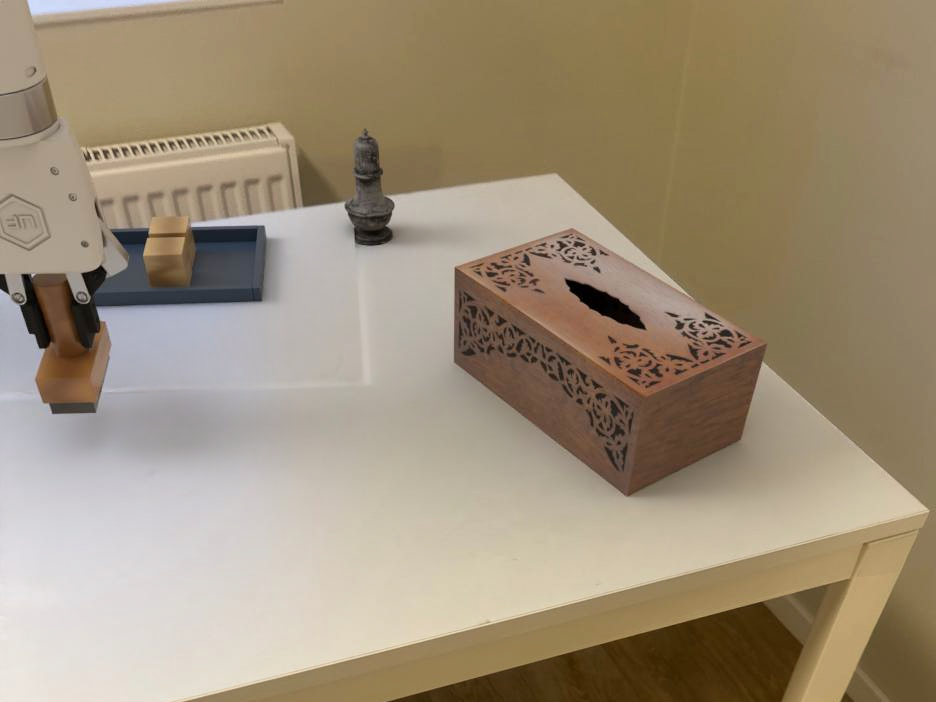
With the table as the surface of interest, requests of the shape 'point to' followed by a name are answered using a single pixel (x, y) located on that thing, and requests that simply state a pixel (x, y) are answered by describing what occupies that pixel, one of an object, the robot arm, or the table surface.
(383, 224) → the salt shaker
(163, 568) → the table surface
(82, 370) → the brush
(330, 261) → the table surface
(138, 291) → the tray
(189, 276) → the block
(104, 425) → the table surface
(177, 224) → the block
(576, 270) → the tissue box cover
